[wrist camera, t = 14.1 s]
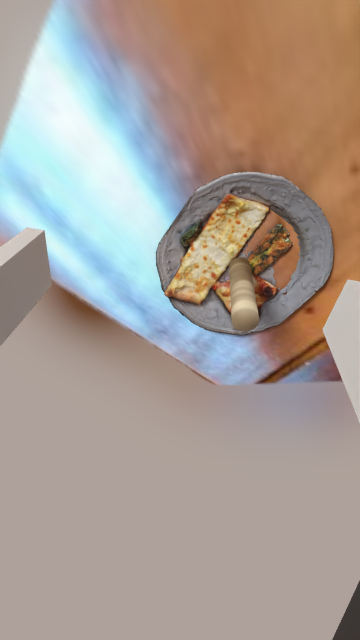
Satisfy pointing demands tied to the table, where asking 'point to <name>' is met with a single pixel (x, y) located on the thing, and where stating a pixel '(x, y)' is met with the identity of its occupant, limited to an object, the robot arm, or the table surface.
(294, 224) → the food plate
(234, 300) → the pestle
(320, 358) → the table surface
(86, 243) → the table surface
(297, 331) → the table surface
